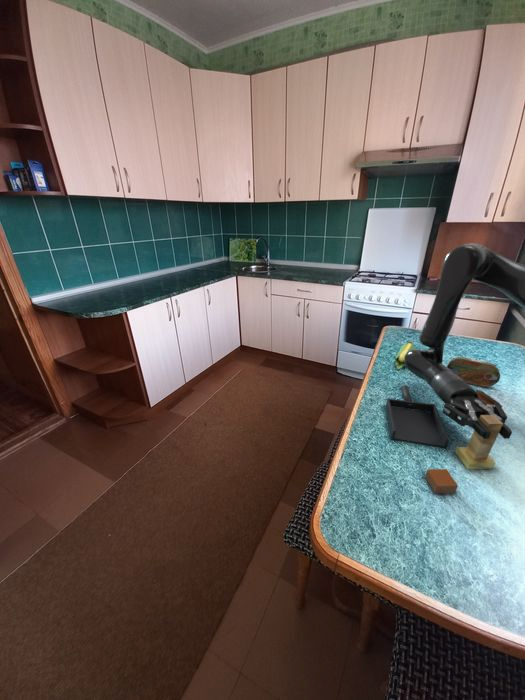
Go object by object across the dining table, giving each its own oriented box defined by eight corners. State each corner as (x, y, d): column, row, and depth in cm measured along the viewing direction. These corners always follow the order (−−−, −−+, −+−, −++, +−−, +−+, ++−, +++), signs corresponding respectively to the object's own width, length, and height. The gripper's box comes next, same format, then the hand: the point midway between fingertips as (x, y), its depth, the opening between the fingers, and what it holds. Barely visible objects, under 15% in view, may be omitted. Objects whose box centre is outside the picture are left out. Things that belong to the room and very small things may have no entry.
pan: (446, 448, 75) (449, 439, 73) (391, 439, 78) (393, 430, 76) (424, 393, 96) (426, 385, 94) (382, 388, 99) (383, 380, 97)
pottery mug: (450, 403, 92) (469, 383, 89) (478, 421, 90) (498, 401, 87) (463, 419, 80) (485, 396, 78) (495, 439, 79) (519, 417, 76)
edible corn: (415, 351, 122) (418, 342, 120) (404, 372, 108) (407, 361, 106) (402, 348, 125) (404, 339, 123) (390, 368, 110) (392, 357, 108)
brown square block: (443, 476, 67) (446, 469, 66) (455, 493, 63) (458, 485, 62) (424, 476, 67) (427, 469, 66) (434, 493, 63) (437, 486, 62)
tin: (443, 377, 104) (450, 356, 100) (444, 373, 107) (450, 353, 103) (495, 390, 97) (504, 368, 93) (494, 386, 99) (503, 364, 95)
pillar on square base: (478, 452, 73) (497, 411, 67) (492, 468, 69) (513, 426, 63) (455, 452, 73) (471, 412, 67) (467, 469, 69) (486, 427, 63)
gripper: (429, 379, 77) (471, 423, 62) (483, 378, 77) (538, 422, 61) (423, 402, 80) (461, 449, 65) (474, 401, 80) (524, 448, 65)
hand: (498, 435), depth 63 cm, fingers open, 4 cm apart
